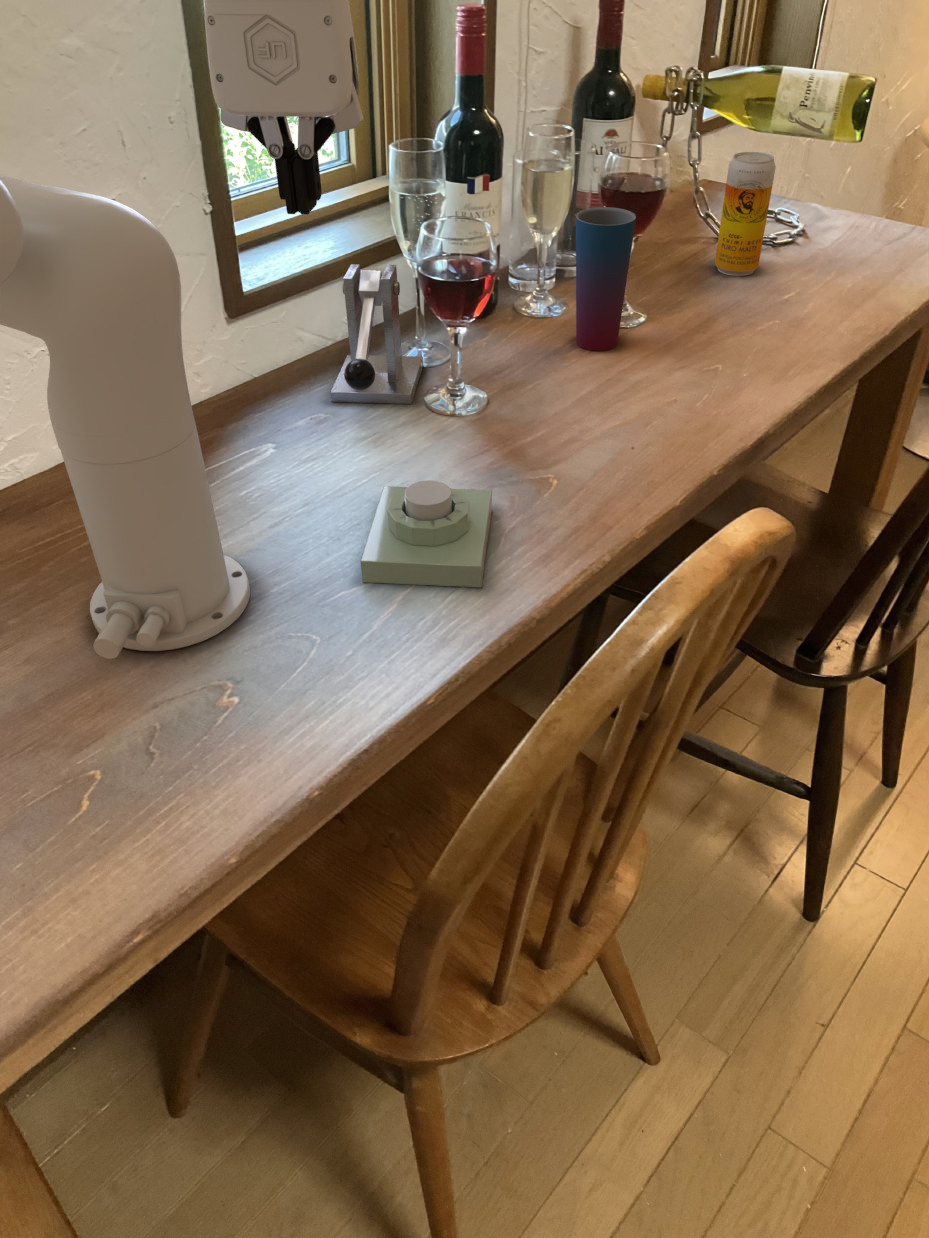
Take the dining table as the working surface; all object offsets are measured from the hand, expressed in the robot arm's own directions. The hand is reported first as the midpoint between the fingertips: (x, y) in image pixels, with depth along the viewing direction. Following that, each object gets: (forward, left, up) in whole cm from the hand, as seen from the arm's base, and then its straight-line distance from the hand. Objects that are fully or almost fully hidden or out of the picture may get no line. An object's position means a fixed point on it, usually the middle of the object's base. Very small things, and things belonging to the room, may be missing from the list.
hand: (302, 209), depth 76 cm
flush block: (-8, -10, -26) cm, 29 cm away
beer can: (+64, -45, -26) cm, 82 cm away
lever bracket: (+24, 0, -26) cm, 35 cm away
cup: (+37, -25, -26) cm, 51 cm away
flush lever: (+20, 0, -19) cm, 27 cm away
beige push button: (-8, -10, -22) cm, 26 cm away
